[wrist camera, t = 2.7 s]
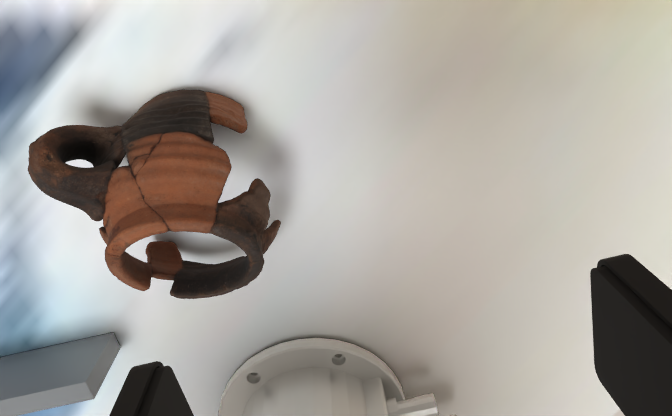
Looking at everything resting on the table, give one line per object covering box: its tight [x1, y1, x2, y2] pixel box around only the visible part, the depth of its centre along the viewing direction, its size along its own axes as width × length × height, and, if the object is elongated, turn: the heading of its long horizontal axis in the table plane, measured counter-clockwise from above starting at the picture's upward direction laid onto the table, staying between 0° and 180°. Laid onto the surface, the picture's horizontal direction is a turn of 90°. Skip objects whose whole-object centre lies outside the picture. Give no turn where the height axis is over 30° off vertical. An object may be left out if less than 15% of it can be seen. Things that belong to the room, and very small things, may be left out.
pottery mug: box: [28, 90, 281, 299], centre depth 27 cm, size 12×10×8 cm
